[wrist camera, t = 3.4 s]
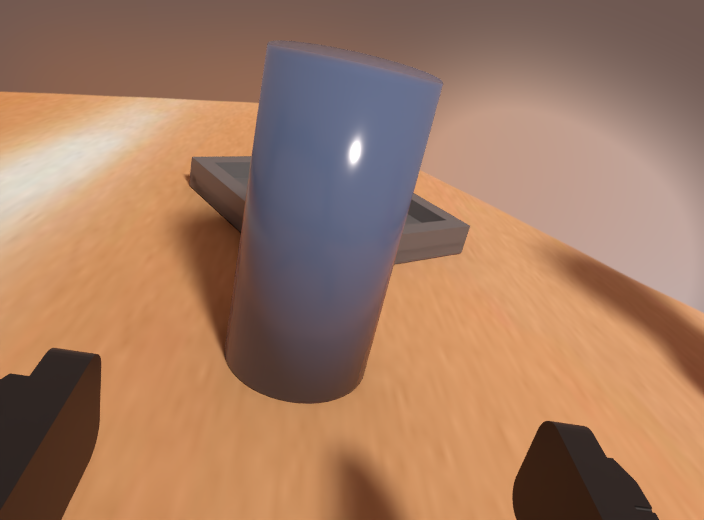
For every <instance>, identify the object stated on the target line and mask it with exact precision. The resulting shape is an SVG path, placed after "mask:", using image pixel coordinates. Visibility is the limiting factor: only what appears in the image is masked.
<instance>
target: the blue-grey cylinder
mask: <svg viewBox="0 0 704 520" xmlns="http://www.w3.org/2000/svg"><path fill="white" fill-rule="evenodd" d="M442 86H443V82H442V81H441V80H440V79H439V78H437V77H435V76H433V75H431V74H429V73H426V72H424V71H421V70H418V69H416V68H413V67H410V66H406V65H404V64H400V63H397V62H393V61H390V60H386V59H383V58H379V57H375V56H371V55H367V54H363V53H358V52H354V51H349V50H345V49H340V48H335V47H329V46H323V45H318V44H311V43H304V42H295V41H271V42H268V44H267V51H266V58H265V65H264V72H263V79H262V86H261V94H260V100H259V107H258V115H257V122H256V129H255V136H254V143H253V150H252V157H251V165H250V172H249V179H248V186H247V193H246V200H245V207H244V215H243V222H242V229H241V236H240V243H239V250H238V257H237V264H236V272H235V279H234V286H233V293H232V300H231V307H230V314H229V322H228V329H227V336H226V343H225V358H226V362H227V364H228V366H229V368H230V369H231V371H232V372H233V373H234V375H235V376H236V377H237V378H238V379H239V380H241V381H242V382H243V383H244V384H246V385H247V386H249V387H250V388H252V389H253V390H255V391H257V392H259V393H261V394H264V395H266V396H269V397H272V398H275V399H278V400H283V401H287V402H294V403H321V402H328V401H332V400H335V399H338V398H341V397H343V396H345V395H347V394H349V393H350V392H352V391H353V390H354V389H355V388H356V387H357V386H358V385H359V384H360V382H361V380H362V379H363V375H364V372H365V368H366V365H367V361H368V357H369V354H370V350H371V346H372V343H373V339H374V335H375V332H376V328H377V324H378V321H379V317H380V313H381V310H382V306H383V302H384V299H385V295H386V291H387V288H388V284H389V280H390V277H391V273H392V269H393V266H394V262H395V258H396V254H397V251H398V247H399V243H400V240H401V236H402V232H403V229H404V225H405V221H406V218H407V214H408V210H409V207H410V203H411V199H412V196H413V192H414V188H415V185H416V181H417V177H418V174H419V170H420V166H421V163H422V159H423V155H424V152H425V148H426V144H427V141H428V137H429V133H430V130H431V126H432V122H433V119H434V115H435V111H436V107H437V104H438V100H439V97H440V93H441V89H442Z"/></svg>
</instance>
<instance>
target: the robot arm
mask: <svg viewBox="0 0 704 520" xmlns="http://www.w3.org/2000/svg"><path fill="white" fill-rule="evenodd" d="M100 388H101V358H100V356H99V355H98V354H93V353H86V352H79V351H72V350H65V349H58V348H51V349H50V350H49V351H48V352H47V353H46V354H45V355H44V357H43V358H42V360H41V361H40V362H39V364H38V365H37V366H36V368H35V369H34V371H33V372H32V373H31V375H30V376H24V375H17V374H8V375H7V376H5V377H4V378H2V379H0V520H61V519H62V517H63V515H64V513H65V511H66V508H67V506H68V504H69V502H70V500H71V498H72V496H73V494H74V492H75V490H76V488H77V486H78V484H79V482H80V479H81V477H82V475H83V473H84V471H85V469H86V467H87V465H88V463H89V461H90V459H91V456H92V453H93V450H94V447H95V444H96V440H97V436H98V430H99V421H100ZM513 508H514V513H515V516H516V519H517V520H659V518H658V517H657V515H656V514H655V513H652V507H651V505H650V504H649V502H648V500H647V499H646V497H645V495H644V494H643V492H642V490H641V489H640V487H639V485H638V484H637V482H636V481H635V480H634V479H633V478H632V477H631V476H630V475H629V474H628V473H627V472H626V471H625V470H624V469H623V468H622V467H621V466H620V465H619V464H618V463H617V462H616V461H615V460H614V459H613V458H607V457H606V455H605V453H604V452H603V450H602V448H601V446H600V445H599V443H598V441H597V440H596V438H595V436H594V434H593V433H592V431H591V430H590V429H589V428H587V427H585V426H580V425H573V424H566V423H559V422H552V421H545V422H543V423H542V424H541V426H540V427H539V429H538V431H537V433H536V435H535V437H534V439H533V441H532V444H531V446H530V448H529V450H528V452H527V455H526V457H525V459H524V461H523V463H522V465H521V468H520V470H519V472H518V474H517V476H516V479H515V482H514V486H513Z"/></svg>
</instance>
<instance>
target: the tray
mask: <svg viewBox="0 0 704 520" xmlns="http://www.w3.org/2000/svg"><path fill="white" fill-rule="evenodd" d="M251 157H252V156H244V157H192V162H191V173H190V183H189V185H190V186H191V187H192V188H193V189H194V190H195V191H196V192H197V193H198V194H199V195H201V196H202V197H203V198H204V199H205V200H206V201H207V202H208V203H209V204H210V205H211V206H212V207H214V208H215V209H216V210H217V211H218V212H219V213H220V214H221V215H222V216H223V217H224V218H225V219H227V220H228V221H229V222H230V223H231V224H232V225H233V226H234V227H235V228H236V229H237V230H238V231H240V232H241V229H242V222H243V215H244V207H245V200H246V193H247V186H248V179H249V172H250V165H251ZM469 228H470V226H469V225H468V224H466V223H464V222H462V221H461V220H459V219H457V218H456V217H454V216H452V215H450V214H449V213H447V212H445V211H444V210H442V209H440V208H438V207H437V206H435V205H433V204H432V203H430V202H428V201H426V200H425V199H423V198H421V197H419V196H418V195H416V194H414V193H413V196H412V199H411V203H410V207H409V210H408V214H407V218H406V221H405V225H404V229H403V232H402V236H401V240H400V243H399V247H398V251H397V254H396V258H395V262H394V264H398V263H404V262H410V261H416V260H422V259H428V258H435V257H441V256H447V255H453V254H459V253H461V252H462V249H463V246H464V243H465V240H466V237H467V234H468V231H469Z"/></svg>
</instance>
